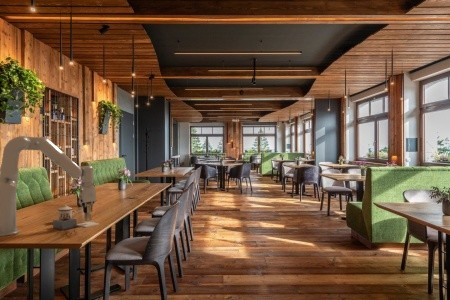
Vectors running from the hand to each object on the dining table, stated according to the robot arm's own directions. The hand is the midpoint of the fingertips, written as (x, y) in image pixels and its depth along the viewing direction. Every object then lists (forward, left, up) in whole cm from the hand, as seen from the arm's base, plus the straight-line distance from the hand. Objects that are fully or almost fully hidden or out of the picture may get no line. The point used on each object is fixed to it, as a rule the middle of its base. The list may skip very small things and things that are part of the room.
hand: (87, 211), depth 237 cm
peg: (0, 0, -6) cm, 6 cm away
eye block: (-12, +7, -9) cm, 17 cm away
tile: (0, 0, -9) cm, 9 cm away
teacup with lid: (0, +22, -9) cm, 24 cm away
